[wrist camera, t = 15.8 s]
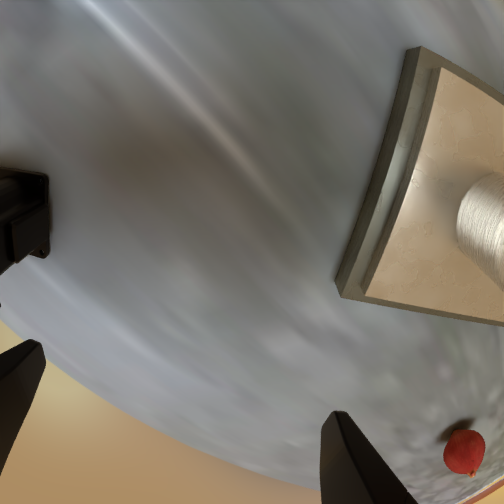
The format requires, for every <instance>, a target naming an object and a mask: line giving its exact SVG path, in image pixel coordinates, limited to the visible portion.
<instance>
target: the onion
mask: <svg viewBox="0 0 504 504" xmlns="http://www.w3.org/2000/svg"><path fill="white" fill-rule="evenodd" d="M484 452H485V442H484V439H483V437H482V436H481V435H480V434H479V433H478V432H476V431H474V430H461V429H457V430H455V431H453V433H452V434H451V437H450V439H449V441H448V443H447V445H446V447H445V449H444V453H443V458H444V462H445V464H446V466H447V467H448V468H449V469H450V470H451V471H453V472H455V473H458V474H468V475H469V476H470V478H473V477H474V476H475V473H476V471H477V469H478V467H479V466H480V464H481V462H482V460H483V456H484Z"/></svg>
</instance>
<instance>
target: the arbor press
mask: <svg viewBox="0 0 504 504" xmlns="http://www.w3.org/2000/svg"><path fill="white" fill-rule="evenodd" d="M491 173H502V174H504V95H502V94H501V93H499V92H498V91H496V90H495V89H494V88H492V87H491V86H489V85H488V84H486V83H485V82H483V81H482V80H480V79H479V78H477V77H475V76H474V75H472V74H471V73H469V72H467V71H466V70H464V69H463V68H461V67H459V66H457V65H456V64H454V63H452V62H451V61H449V60H447V59H445V58H443V57H442V56H440V55H438V54H436V53H434V52H432V51H430V50H428V49H426V48H425V47H423V46H419V47H416V48H412V49H409V50H407V51H406V56H405V60H404V65H403V69H402V73H401V77H400V81H399V85H398V89H397V93H396V97H395V101H394V105H393V109H392V112H391V116H390V120H389V123H388V127H387V130H386V134H385V137H384V141H383V144H382V147H381V151H380V154H379V157H378V160H377V164H376V167H375V170H374V173H373V176H372V179H371V183H370V186H369V189H368V192H367V195H366V198H365V201H364V203H363V206H362V209H361V212H360V215H359V218H358V221H357V224H356V226H355V229H354V232H353V235H352V237H351V240H350V243H349V245H348V248H347V251H346V253H345V256H344V259H343V261H342V264H341V266H340V269H339V272H338V274H337V277H336V279H335V284H336V286H337V289H338V292H339V294H340V297H341V298H346V299H351V300H356V301H361V302H366V303H371V304H377V305H382V306H387V307H393V308H398V309H403V310H409V311H414V312H420V313H425V314H431V315H437V316H442V317H448V318H454V319H460V320H466V321H472V322H478V323H484V324H490V325H496V326H502V327H504V293H503V292H502V291H501V290H500V289H499V288H498V286H497V285H496V284H495V283H494V282H493V281H492V280H491V279H490V278H489V277H488V276H487V275H486V274H485V273H484V272H483V271H482V270H481V269H479V268H478V267H477V266H476V265H475V264H474V263H473V262H472V261H471V260H470V259H469V258H468V257H467V256H466V255H465V254H464V253H463V251H462V250H461V248H460V245H459V243H458V239H457V232H456V225H457V217H458V212H459V209H460V206H461V203H462V201H463V199H464V197H465V195H466V193H467V192H468V190H469V189H470V188H471V186H472V185H473V184H474V183H475V182H476V181H477V180H479V179H480V178H481V177H483V176H485V175H487V174H491Z"/></svg>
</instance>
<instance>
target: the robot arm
mask: <svg viewBox="0 0 504 504" xmlns="http://www.w3.org/2000/svg"><path fill="white" fill-rule="evenodd" d="M40 179H41V180H42V183H41V181H40ZM42 250H43V251H44V253H43V252H42ZM27 255H32V256H36V257H39V258H42V259H44V258H46V257H47V256H48V255H49V221H48V178H47V176H46V175H45V174H43V173H37V172H31V171H24V170H18V169H12V168H5V167H0V275H1V274H2V273H4V272H5V271H6V270H7V269H8V268H9V267H11V266H12V265H13V264H14V263H19V262H20V261H21V260H23V259H24V258H25V257H26V256H27ZM0 307H1V304H0ZM45 366H46V359H45V355H44V351H43V347H42V344H41V343H40V342H37V341H35V340H33V339H28V340H26V341H24V342H23V343H21V344H19V345H17V346H15V347H13V348H11V349H9V350H7V351H5V352H3V353H2V354H0V475H1V472H2V470H3V467H4V465H5V462H6V460H7V458H8V455H9V453H10V450H11V448H12V446H13V443H14V441H15V439H16V437H17V434H18V432H19V430H20V428H21V426H22V423H23V421H24V419H25V417H26V415H27V413H28V411H29V409H30V406H31V404H32V401H33V399H34V396H35V393H36V390H37V388H38V385H39V382H40V380H41V377H42V374H43V372H44V369H45ZM320 487H321V501H322V504H418V503H417V502H416V500H415V499H414V498H413V497H412V495H411V494H410V493H409V492H407V489H406V488H405V487H404V485H403V484H402V483H401V482H400V480H399V479H398V478H397V477H396V475H395V474H394V473H393V471H392V470H391V469H390V468H389V466H388V465H387V464H386V462H385V461H384V460H383V459H382V457H381V456H380V455H379V453H378V452H377V451H376V450H375V448H374V447H373V446H372V444H371V443H370V442H369V441H368V439H367V438H366V437H365V435H364V434H363V433H362V431H361V430H360V429H359V428H358V426H357V425H356V424H355V422H354V421H353V420H352V418H351V417H350V416H349V414H348V413H347V412H345V411H333V412H332V413H331V414H330V415H329V417H328V418H327V420H326V421H325V423H324V424H323V426H322V429H321V450H320Z"/></svg>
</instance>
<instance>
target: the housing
mask: <svg viewBox="0 0 504 504" xmlns="http://www.w3.org/2000/svg"><path fill="white" fill-rule="evenodd" d="M456 232H457V239H458V243H459V245H460V248H461V250H462V251H463V253H464V254H465V255H466V256H467V257H468V258H469V259H470V260H471V261H472V262H473V263H474V264H475V265H476V266H477V267H478V268H479V269H481V270H482V271H483V272H484V273H485V274H486V275H487V276H488V277H489V278H490V279H491V280H492V281H493V282H494V283H495V284H496V285H497V286H498V288H499V289H500V290H501V291H502V292H503V293H504V174H502V173H491V174H487V175H485V176H483V177H481V178H480V179H479V180H477V181H476V182H475V183H474V184H473V185H472V186H471V188H470V189H469V190H468V192H467V193H466V195H465V197H464V199H463V201H462V203H461V206H460V209H459V212H458V217H457V225H456Z"/></svg>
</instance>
